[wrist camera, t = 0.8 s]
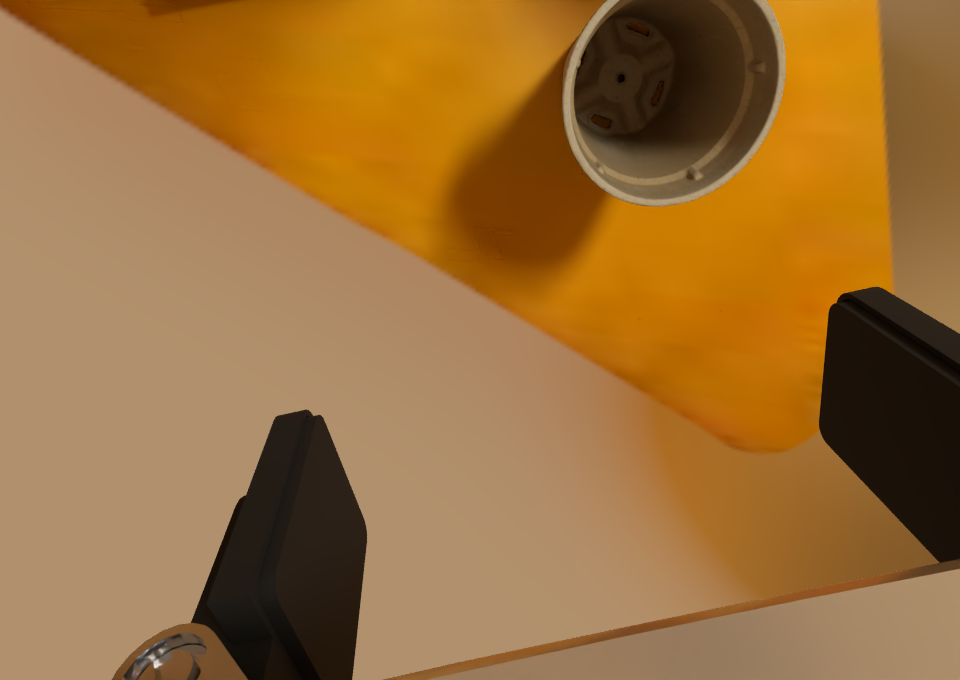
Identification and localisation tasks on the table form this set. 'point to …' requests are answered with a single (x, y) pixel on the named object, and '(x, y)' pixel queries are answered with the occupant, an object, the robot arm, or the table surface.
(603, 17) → the flower pot
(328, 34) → the table surface
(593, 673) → the robot arm
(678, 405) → the table surface
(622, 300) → the table surface
